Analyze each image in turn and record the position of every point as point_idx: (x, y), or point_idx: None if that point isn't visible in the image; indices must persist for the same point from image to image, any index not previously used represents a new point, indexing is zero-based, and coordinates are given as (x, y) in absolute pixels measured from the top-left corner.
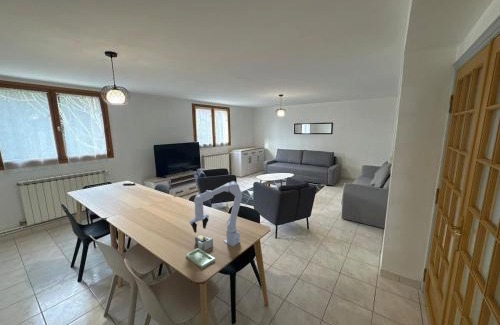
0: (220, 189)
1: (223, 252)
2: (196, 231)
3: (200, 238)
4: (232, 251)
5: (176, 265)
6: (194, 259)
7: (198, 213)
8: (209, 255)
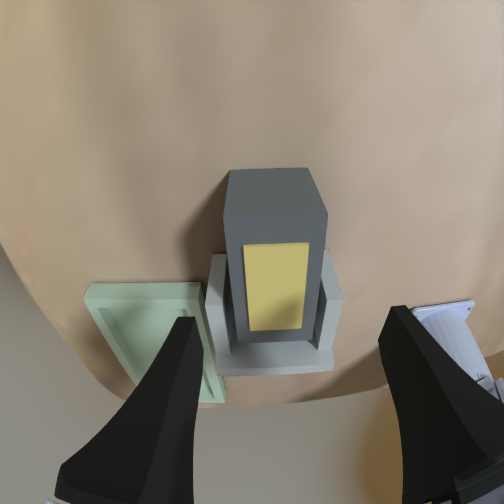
0: None
1: None
2: (201, 372)
3: (250, 304)
4: (346, 383)
5: (38, 302)
6: (123, 361)
7: None
8: (214, 383)
